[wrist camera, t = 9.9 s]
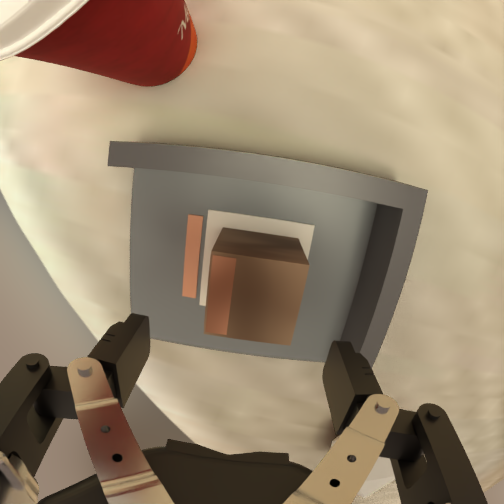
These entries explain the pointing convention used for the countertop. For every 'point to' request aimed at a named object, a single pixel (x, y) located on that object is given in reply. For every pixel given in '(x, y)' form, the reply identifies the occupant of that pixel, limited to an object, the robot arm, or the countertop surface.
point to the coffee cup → (102, 36)
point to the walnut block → (255, 286)
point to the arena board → (271, 222)
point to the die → (376, 476)
